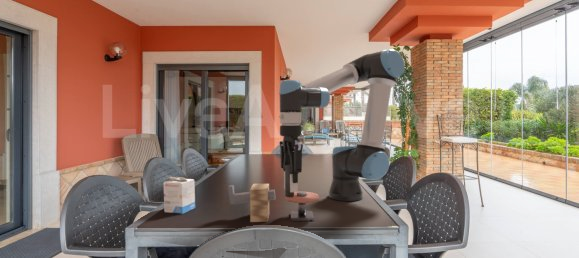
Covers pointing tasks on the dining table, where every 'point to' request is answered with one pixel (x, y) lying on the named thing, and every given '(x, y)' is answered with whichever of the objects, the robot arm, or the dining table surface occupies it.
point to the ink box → (179, 195)
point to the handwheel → (297, 196)
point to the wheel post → (302, 213)
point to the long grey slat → (245, 196)
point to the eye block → (259, 203)
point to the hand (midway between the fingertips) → (290, 190)
